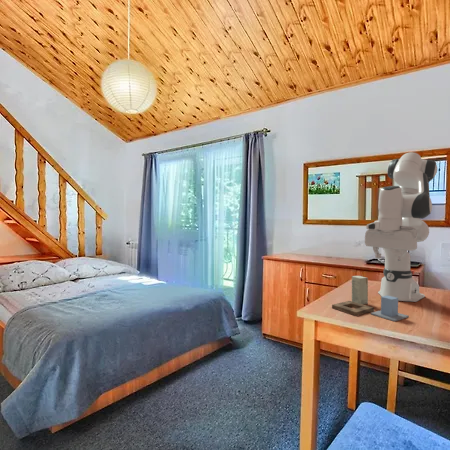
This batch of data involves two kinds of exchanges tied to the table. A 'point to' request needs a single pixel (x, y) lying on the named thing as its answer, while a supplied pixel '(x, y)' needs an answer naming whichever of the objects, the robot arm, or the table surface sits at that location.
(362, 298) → the skincare box
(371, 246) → the robot arm
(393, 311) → the blue block
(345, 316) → the table surface
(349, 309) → the walnut stand
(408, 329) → the table surface
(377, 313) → the ceramic pad
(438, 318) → the table surface
